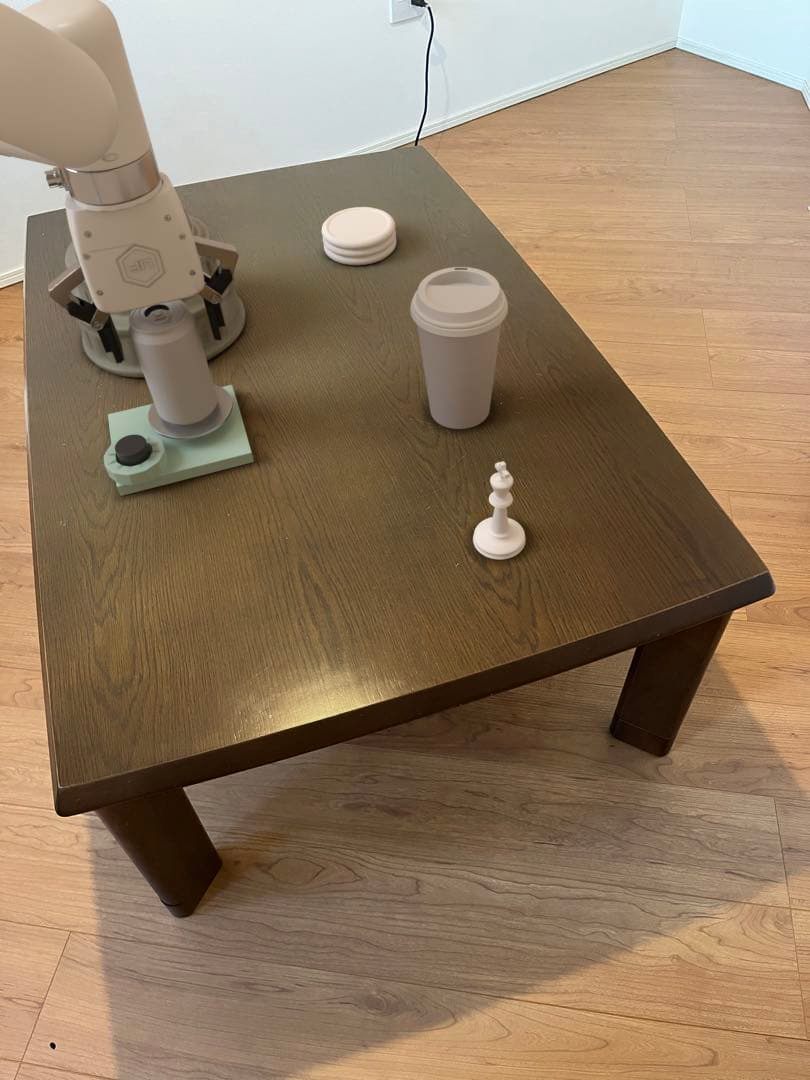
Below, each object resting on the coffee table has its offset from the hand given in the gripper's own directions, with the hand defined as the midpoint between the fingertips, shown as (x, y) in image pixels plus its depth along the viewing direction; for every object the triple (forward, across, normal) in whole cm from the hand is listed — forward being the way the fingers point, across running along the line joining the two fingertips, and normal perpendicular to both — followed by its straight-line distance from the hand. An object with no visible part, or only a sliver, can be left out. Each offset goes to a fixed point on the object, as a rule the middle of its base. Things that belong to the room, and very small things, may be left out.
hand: (168, 343), depth 82 cm
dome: (+12, -1, +21) cm, 24 cm away
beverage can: (+9, 0, 0) cm, 9 cm away
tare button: (+9, -6, -4) cm, 12 cm away
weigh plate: (+9, 0, 0) cm, 9 cm away
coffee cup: (+12, +28, -7) cm, 31 cm away
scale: (+12, -2, -1) cm, 12 cm away
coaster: (+12, +27, +30) cm, 42 cm away
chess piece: (+12, +25, -26) cm, 38 cm away
